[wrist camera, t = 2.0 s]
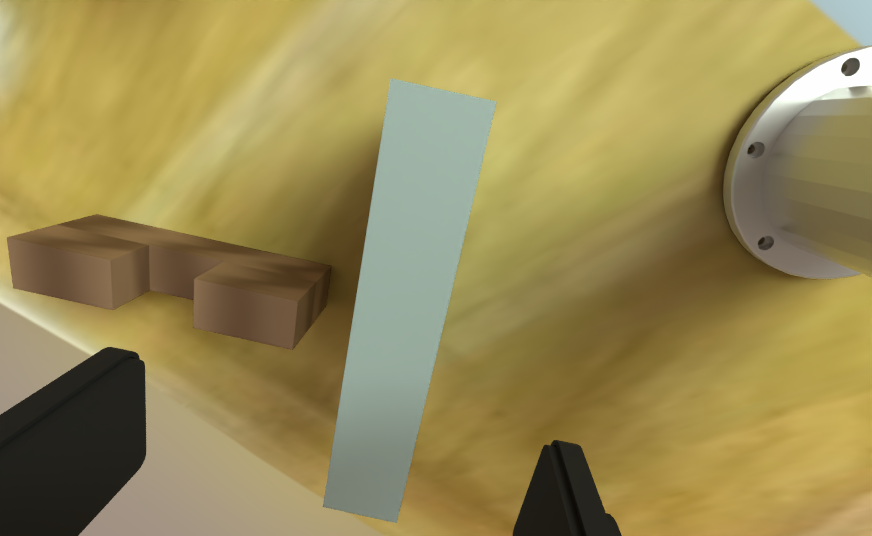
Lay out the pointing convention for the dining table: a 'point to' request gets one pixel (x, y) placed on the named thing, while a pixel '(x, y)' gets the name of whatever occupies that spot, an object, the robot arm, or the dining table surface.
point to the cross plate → (404, 289)
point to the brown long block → (173, 276)
